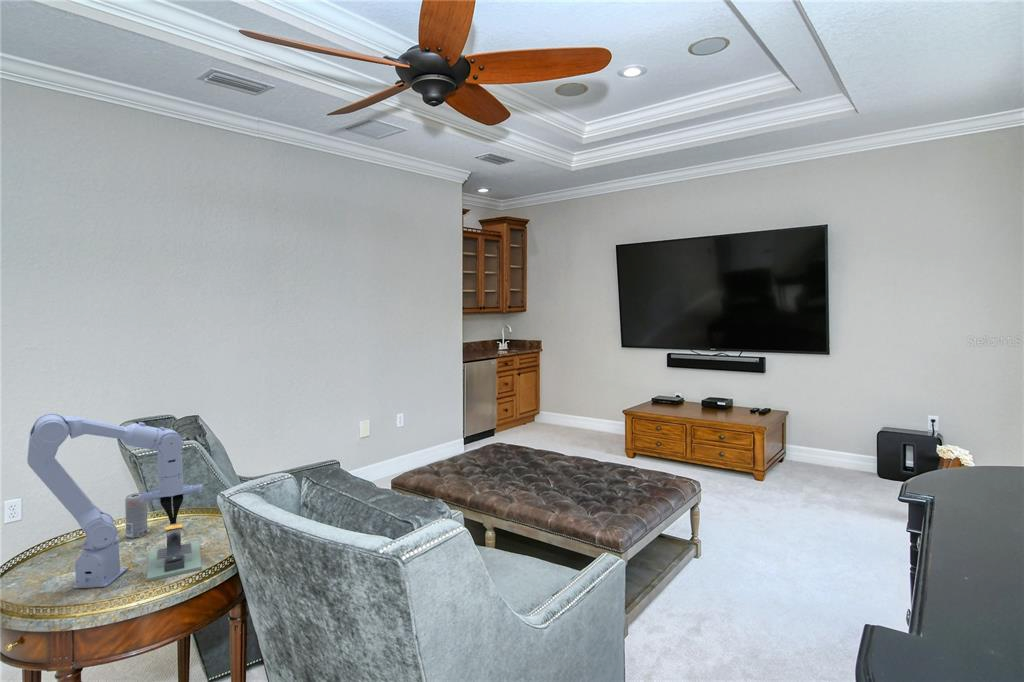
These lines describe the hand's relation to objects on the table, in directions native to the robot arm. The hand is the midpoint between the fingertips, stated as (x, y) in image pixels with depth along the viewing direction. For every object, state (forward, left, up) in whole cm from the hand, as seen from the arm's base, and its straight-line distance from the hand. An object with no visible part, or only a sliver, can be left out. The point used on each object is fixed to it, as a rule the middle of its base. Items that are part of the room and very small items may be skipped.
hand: (173, 522), depth 151 cm
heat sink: (-2, -1, -10) cm, 10 cm away
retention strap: (-3, -1, -5) cm, 6 cm away
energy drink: (+17, +19, -10) cm, 27 cm away
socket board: (-2, -1, -10) cm, 10 cm away
